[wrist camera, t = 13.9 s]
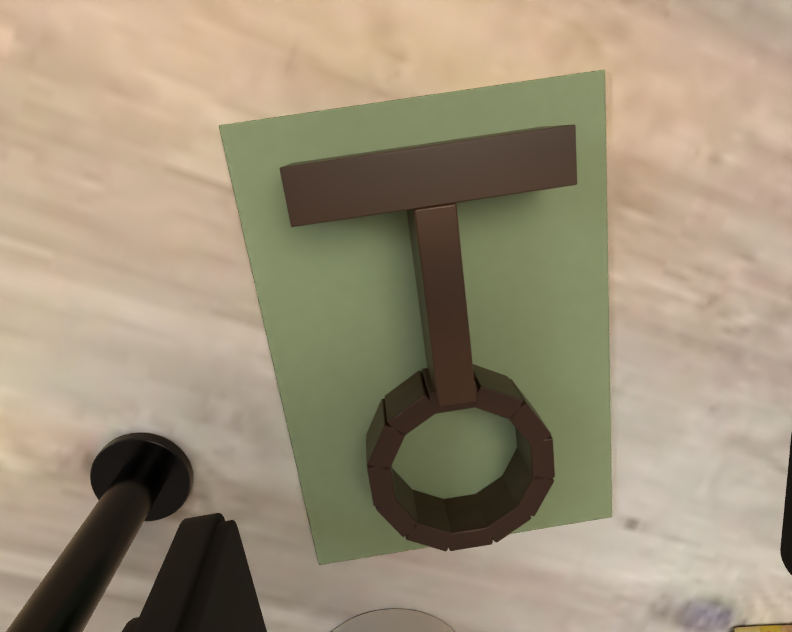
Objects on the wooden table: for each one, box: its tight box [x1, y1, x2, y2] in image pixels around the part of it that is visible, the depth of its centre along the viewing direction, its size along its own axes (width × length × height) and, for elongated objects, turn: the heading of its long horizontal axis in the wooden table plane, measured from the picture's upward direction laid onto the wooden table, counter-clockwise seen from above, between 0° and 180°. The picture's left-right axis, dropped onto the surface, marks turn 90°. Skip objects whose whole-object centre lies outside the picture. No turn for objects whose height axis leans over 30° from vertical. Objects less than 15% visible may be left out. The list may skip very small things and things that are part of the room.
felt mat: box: [219, 70, 612, 565], centre depth 24 cm, size 15×21×1 cm
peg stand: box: [6, 433, 193, 632], centre depth 18 cm, size 4×4×16 cm
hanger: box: [280, 124, 577, 551], centre depth 23 cm, size 18×10×4 cm, turn 8°
